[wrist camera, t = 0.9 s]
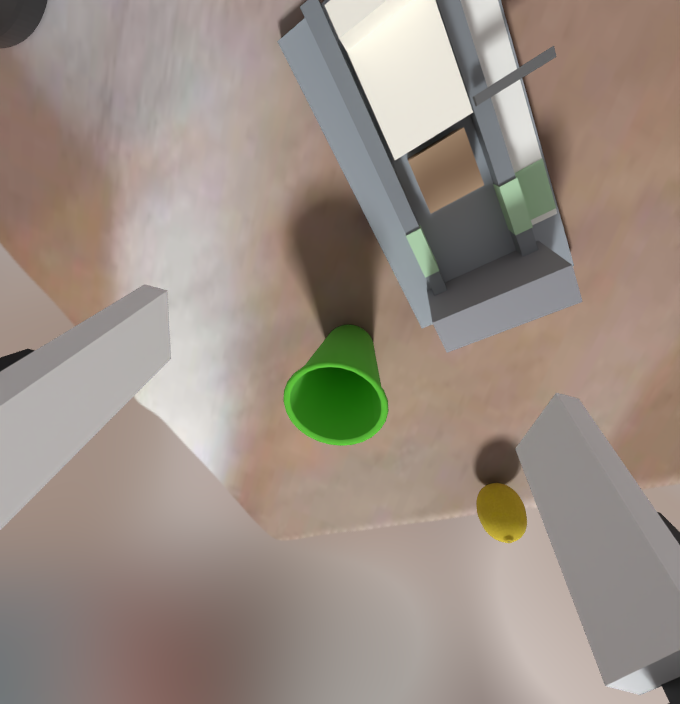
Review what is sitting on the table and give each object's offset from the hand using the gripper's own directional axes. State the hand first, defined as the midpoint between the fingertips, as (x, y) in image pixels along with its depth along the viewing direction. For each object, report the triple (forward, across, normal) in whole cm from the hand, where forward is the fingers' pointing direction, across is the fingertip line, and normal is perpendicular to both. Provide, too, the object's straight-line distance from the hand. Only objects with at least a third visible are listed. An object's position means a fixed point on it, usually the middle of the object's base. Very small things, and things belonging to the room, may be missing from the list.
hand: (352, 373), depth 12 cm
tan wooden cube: (+23, +4, +5) cm, 24 cm away
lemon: (+24, +24, -28) cm, 44 cm away
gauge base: (+24, +3, +6) cm, 25 cm away
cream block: (+23, +1, +12) cm, 26 cm away
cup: (+24, 0, -13) cm, 27 cm away
